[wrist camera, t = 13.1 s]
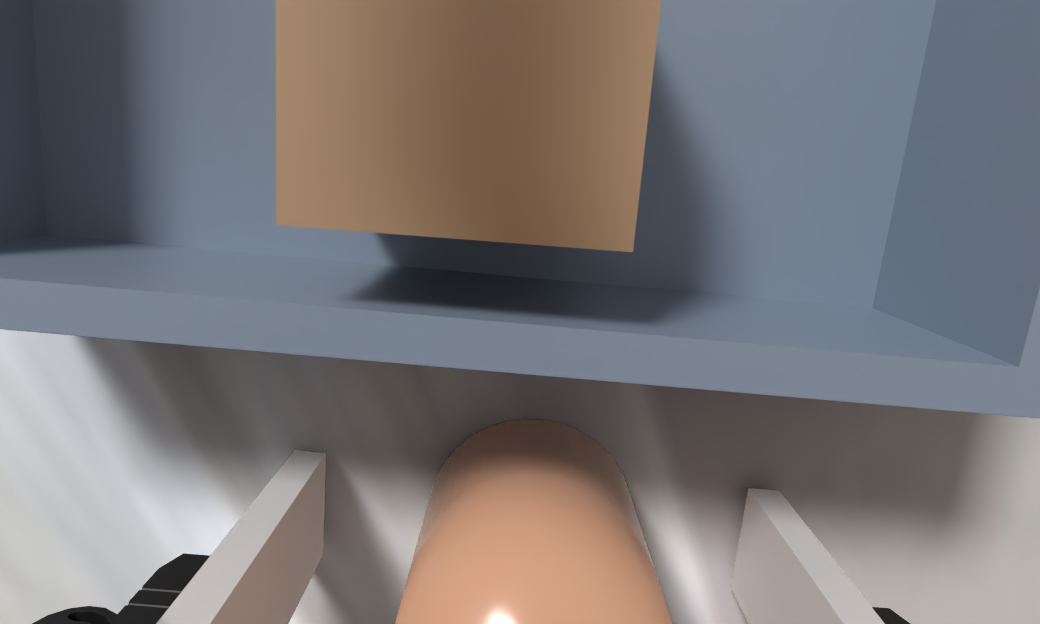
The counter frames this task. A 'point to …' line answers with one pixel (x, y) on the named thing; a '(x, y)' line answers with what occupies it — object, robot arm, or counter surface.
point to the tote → (550, 269)
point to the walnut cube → (465, 118)
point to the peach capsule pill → (531, 536)
